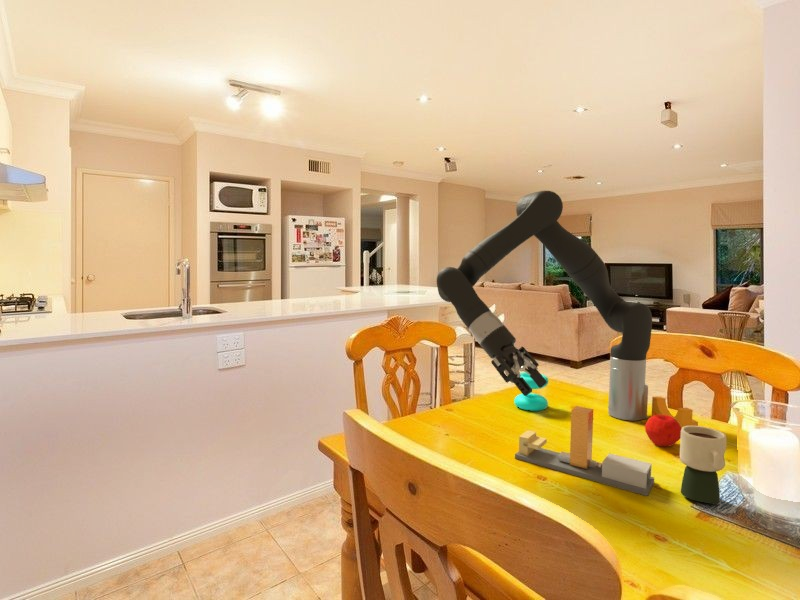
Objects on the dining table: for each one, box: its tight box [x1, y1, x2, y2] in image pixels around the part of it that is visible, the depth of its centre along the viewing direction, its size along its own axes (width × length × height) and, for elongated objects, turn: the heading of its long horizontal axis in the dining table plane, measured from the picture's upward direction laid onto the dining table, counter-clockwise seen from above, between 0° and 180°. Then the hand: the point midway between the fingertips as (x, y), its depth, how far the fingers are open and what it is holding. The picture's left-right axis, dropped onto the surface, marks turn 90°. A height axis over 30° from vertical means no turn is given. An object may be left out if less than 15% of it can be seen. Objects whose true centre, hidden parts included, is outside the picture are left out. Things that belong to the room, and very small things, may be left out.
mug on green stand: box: [679, 425, 727, 505], centre depth 85 cm, size 11×7×13 cm, turn 172°
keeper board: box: [514, 429, 655, 497], centre depth 98 cm, size 27×7×5 cm, turn 51°
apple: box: [644, 415, 682, 447], centre depth 111 cm, size 8×8×7 cm
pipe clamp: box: [651, 396, 699, 428], centre depth 124 cm, size 12×4×6 cm, turn 7°
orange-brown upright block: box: [558, 405, 602, 469], centre depth 95 cm, size 16×4×12 cm, turn 51°
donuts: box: [513, 372, 549, 412], centre depth 140 cm, size 10×10×10 cm
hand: (536, 389), depth 103 cm, fingers open, 8 cm apart
